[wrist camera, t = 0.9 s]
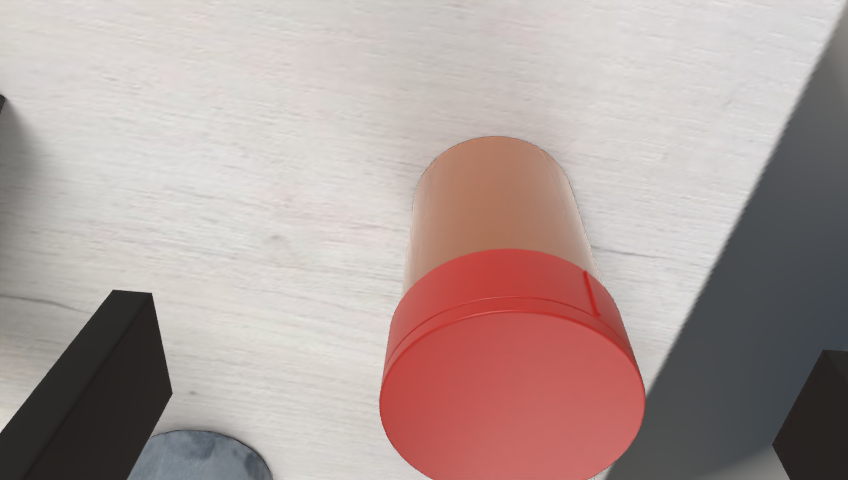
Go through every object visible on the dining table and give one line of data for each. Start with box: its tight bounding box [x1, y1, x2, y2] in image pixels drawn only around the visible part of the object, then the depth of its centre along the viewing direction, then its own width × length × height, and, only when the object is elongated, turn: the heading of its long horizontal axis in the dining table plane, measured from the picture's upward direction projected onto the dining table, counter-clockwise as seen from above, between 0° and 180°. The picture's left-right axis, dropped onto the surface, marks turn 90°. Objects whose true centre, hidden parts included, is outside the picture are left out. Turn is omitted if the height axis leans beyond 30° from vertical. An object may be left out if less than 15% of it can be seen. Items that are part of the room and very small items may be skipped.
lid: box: [379, 248, 646, 480], centre depth 20 cm, size 8×8×3 cm
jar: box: [401, 136, 602, 299], centre depth 24 cm, size 7×7×12 cm
